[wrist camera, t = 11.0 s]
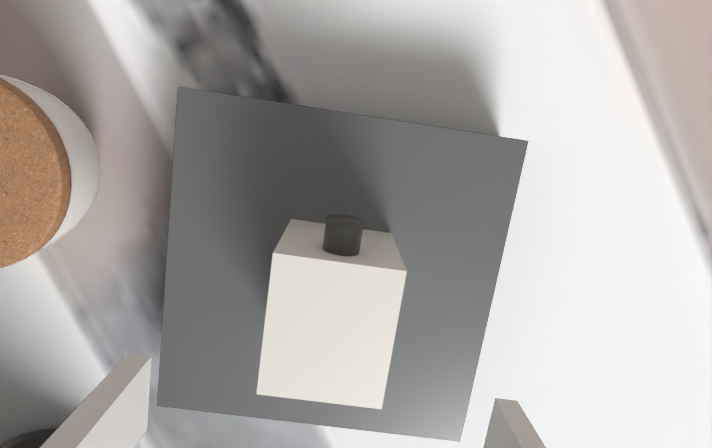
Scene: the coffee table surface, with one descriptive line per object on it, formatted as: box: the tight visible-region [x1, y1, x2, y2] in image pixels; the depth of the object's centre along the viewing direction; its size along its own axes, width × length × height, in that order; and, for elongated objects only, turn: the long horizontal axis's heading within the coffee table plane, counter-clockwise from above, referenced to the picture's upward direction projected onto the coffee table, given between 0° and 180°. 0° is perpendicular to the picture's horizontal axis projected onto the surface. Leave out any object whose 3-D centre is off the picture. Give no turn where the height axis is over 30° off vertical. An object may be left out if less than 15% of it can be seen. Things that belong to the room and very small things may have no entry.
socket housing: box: [157, 87, 528, 441], centre depth 31 cm, size 20×20×5 cm
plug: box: [256, 214, 407, 409], centre depth 26 cm, size 6×9×10 cm
